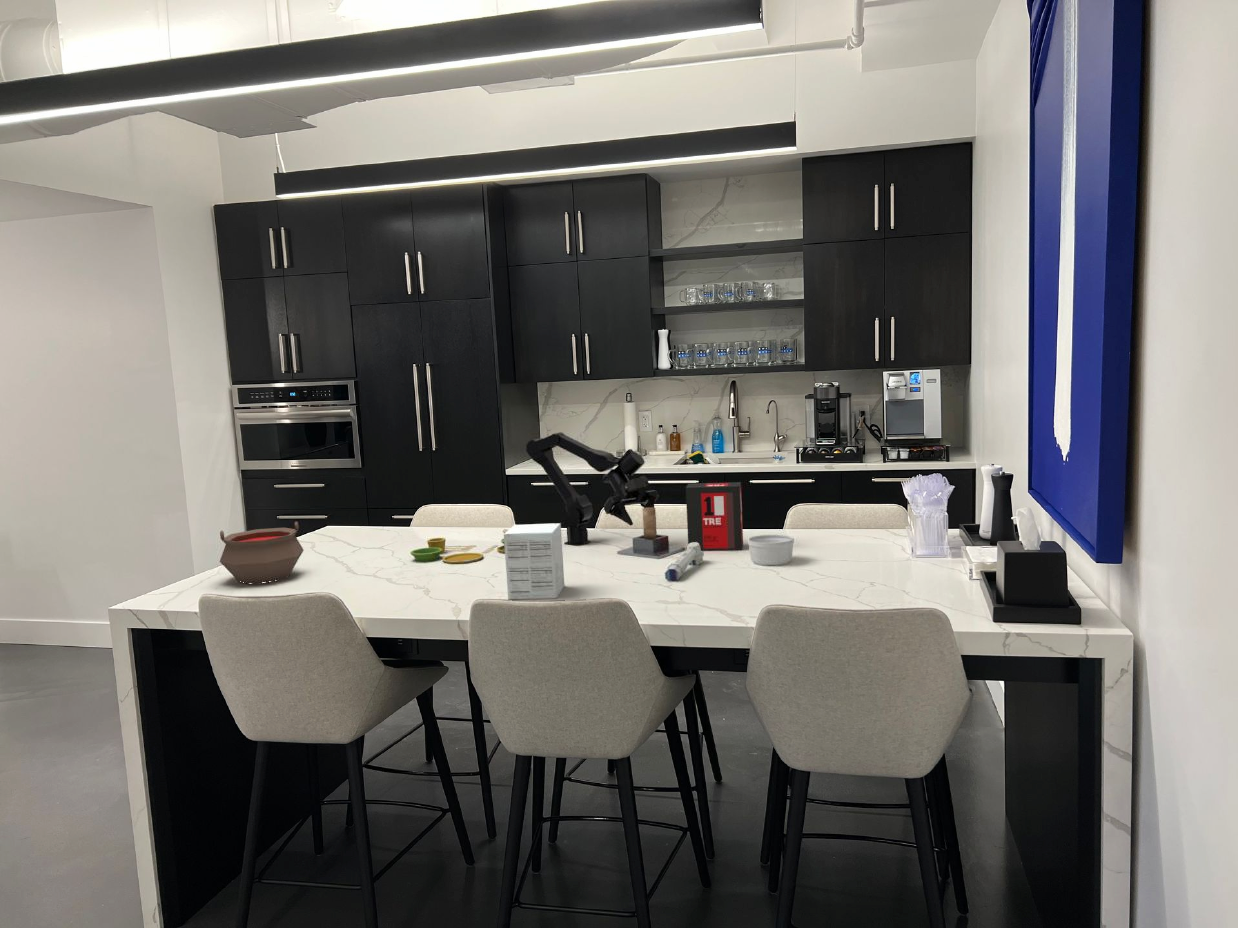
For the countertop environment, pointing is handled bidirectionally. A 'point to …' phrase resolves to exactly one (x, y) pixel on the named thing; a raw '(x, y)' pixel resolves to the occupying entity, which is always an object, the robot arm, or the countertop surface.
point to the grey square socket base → (651, 547)
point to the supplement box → (534, 561)
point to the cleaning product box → (715, 516)
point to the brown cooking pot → (261, 554)
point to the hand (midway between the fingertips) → (643, 522)
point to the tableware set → (439, 548)
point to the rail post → (649, 523)
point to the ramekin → (771, 549)
